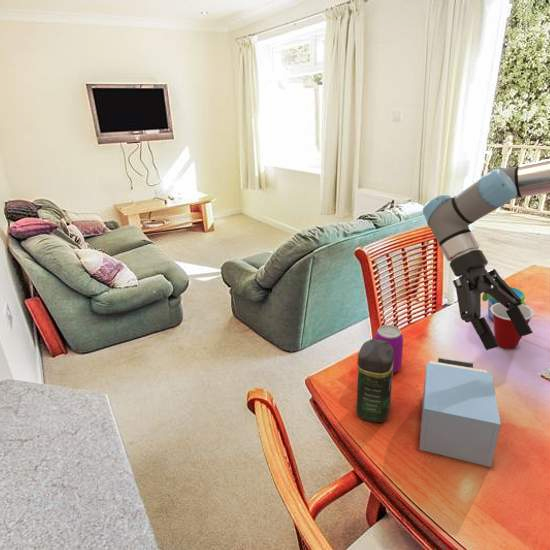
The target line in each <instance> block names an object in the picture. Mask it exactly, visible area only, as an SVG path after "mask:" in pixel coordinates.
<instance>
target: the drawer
mask: <svg viewBox="0 0 550 550" xmlns="http://www.w3.org/2000/svg"><path fill="white" fill-rule="evenodd" d="M428 363H431V364H438V365H444V366H450V367H456V368H462V369H468V370H474V371H480V372H486V373H488V370H486V369H483V368H482V369H481V368H474V363H473V362H468V361H461V360H455V359H449V358H443V357H438V359H437V361H433V360H429V361H428Z"/></svg>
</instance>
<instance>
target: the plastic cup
mask: <svg viewBox="0 0 550 550" xmlns="http://www.w3.org/2000/svg"><path fill="white" fill-rule="evenodd" d="M518 307H519V309H520V311H521V312H522V314H523V316H524V318H525V320H526V321H527V323H528V324H529V322H530V321H531V319H532V318H533V317H534V315H535V311H534V310H533V309H532V308H531V307H529V306H528V305H523V304H522V305H519V306H518ZM490 310H491V312H492V314H493V318H494V321H493V334H494V336H495V338H496V340H497V342H498V344H499V346H498V347H499V348H502V349H505V350H514V349H516V348H517V347H518V345H519V343H520V341H521V340H522V337H523V336H522V337H520V336H519V334H518V333H517V331H516V329H515V327H514V325H513V323H512V322H511V320H510V318H509V316H508V314H507V313H506V311H507V310H509V309H507V308H506V307H504V306H503V305H502V304H501V303H496V304H494V305H492V306H491V309H490Z"/></svg>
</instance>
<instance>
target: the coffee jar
mask: <svg viewBox="0 0 550 550" xmlns="http://www.w3.org/2000/svg"><path fill="white" fill-rule="evenodd" d="M393 356H394V350H393V347H392V346H391V345H390V344H389V343H388V342H386V341H381V340H376V339H375V338H371V339H369V340H366V341H364V343H363V344H362V345H361V347H360V349H359V351H358V354H357V382H356V384H357V385H356V386H357V387H356V406H355V407H356V409H355V411H356V415H357V416H359V417H360V418H361V419H363V420H365V421H368V422H371V423H381V422H385V421H386V420H387V418H388V416H389V413H390V410H391V399H392V398H391V397H392V386H393V373H394V372H393V360H394V359H393Z"/></svg>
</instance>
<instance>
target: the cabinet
mask: <svg viewBox="0 0 550 550" xmlns="http://www.w3.org/2000/svg"><path fill="white" fill-rule="evenodd" d="M423 383H424V385H423V393H422V404H421V416H420V417H421V419H420V435H419V451H423V452H427V453H431V454H434V455H435V454H436V455H441V456H443V457H448V458H453V459H455V460H456V459H457V460H459V461H465V462H469V463H473V464H476V465H479V466H485V467H488V468H492V465H493V460H494V456H495V452H496V447H497V442H498V438H499V434H500V430H501V426H502V423H501V417H500V411H499V406H498V401H497V396H496V391H495V390H496V389H495V383H494V378H493V374H492V373H491V372H487V373H486V372H480V371H474V370H468V369H462V368H456V367H450V366H444V365H438V364H431V363H429V362H426V365H425V375H424V382H423Z"/></svg>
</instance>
